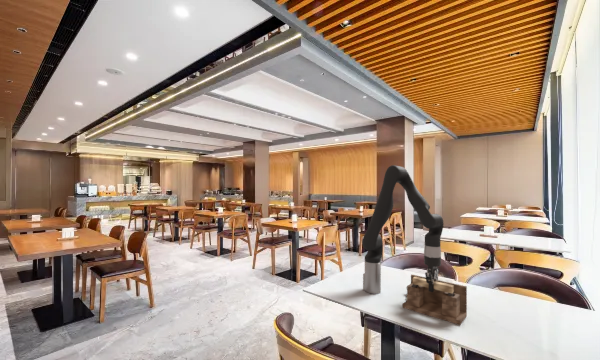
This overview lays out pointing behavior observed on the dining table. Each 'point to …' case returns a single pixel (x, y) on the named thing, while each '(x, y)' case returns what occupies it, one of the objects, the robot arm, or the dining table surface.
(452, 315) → the wooden pen holder stand
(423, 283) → the oak rail
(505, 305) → the dining table surface
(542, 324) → the dining table surface
